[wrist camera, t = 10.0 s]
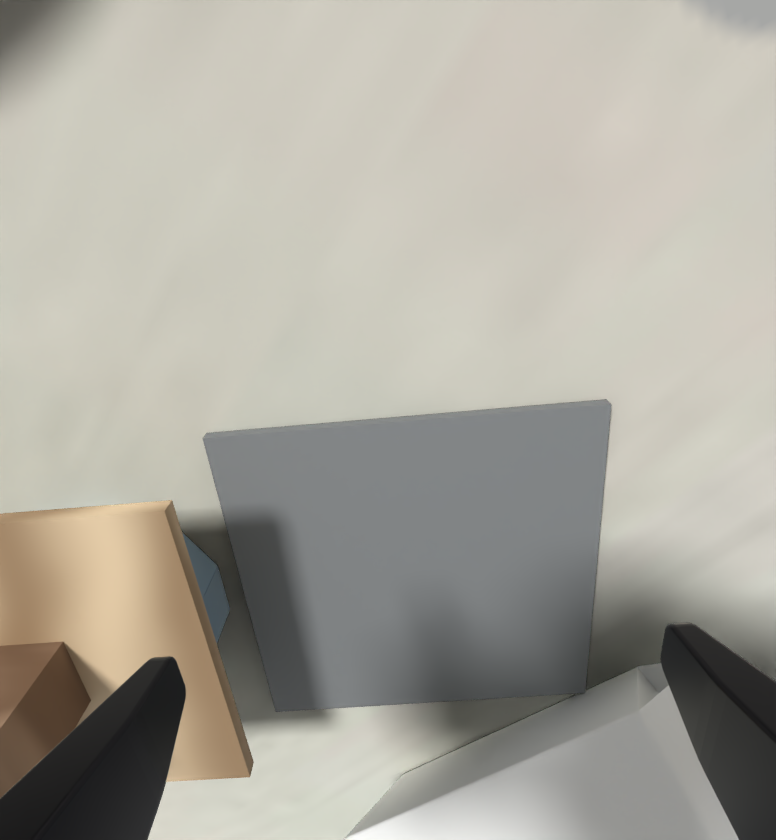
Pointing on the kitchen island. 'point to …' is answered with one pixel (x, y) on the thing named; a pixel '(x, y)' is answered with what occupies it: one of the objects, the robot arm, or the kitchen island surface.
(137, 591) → the oak lid
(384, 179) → the kitchen island surface
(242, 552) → the rubber mat
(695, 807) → the milk carton
